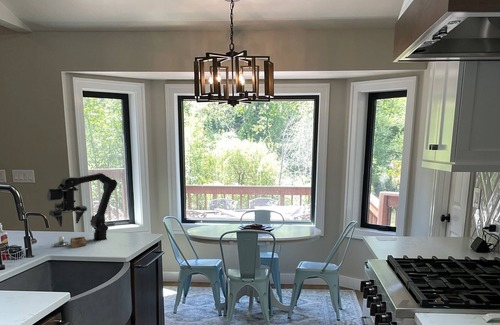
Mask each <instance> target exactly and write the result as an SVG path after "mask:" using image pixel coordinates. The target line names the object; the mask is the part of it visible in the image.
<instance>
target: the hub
mask: <svg viewBox="0 0 500 325" xmlns="http://www.w3.org/2000/svg"><path fill="white" fill-rule="evenodd" d="M64 237H65V236H64V235H62V236H58V242H55V243H54V244H53V247H55V248H62V247H63V248H64V247H67V246H68V245H69V242H67V241H64V239H65V238H64Z"/></svg>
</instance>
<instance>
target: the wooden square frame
mask: <svg viewBox="0 0 500 325" xmlns="http://www.w3.org/2000/svg"><path fill="white" fill-rule="evenodd" d="M69 244H70V247H71V248H72V249H74V248H82V247H86V246H87V239H86V237H85V236H78V237H77V236H75V237H70V243H69Z"/></svg>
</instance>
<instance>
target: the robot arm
mask: <svg viewBox="0 0 500 325" xmlns="http://www.w3.org/2000/svg"><path fill="white" fill-rule="evenodd" d="M95 181H100V183H102V184H103V186H102V189H103V192H102V196H101V199H100V202H99V206H98V209H97V210H96V211H97V212H96V214H94V215H91V219H90V220H89V222H90V226H91V227H92V228H93V230H94V231H93V239H94V241H95V242H99V241H106V240H108V238H107V231H108V230H109V226H108V225H106V217H105V216H106V212H107V209H108V205H109V202H110V199H111V196H112V194H113V192H115V190H116V188H117V186H118V182H117V180H116V179H114V178H113V179H112V178H111V177H109V176H107V175H106V174H104V173H101V172H97V173H94V174H87V175H82V176H68V177H63V178H62V179H61V182H60V184H59V185H58V186H57V187H56V188H48V189H47V190H48V191H47V193H46V200H47V202H54V201H61V202H60V203H59V202H55V203H54V209H50V210H49V212H48V213H49V214H48V215H49V216H51V217H54V218H55V220H56V221H57V223H58V225H59V227H60V228H62V226H63V215H62V214H65V213H72V212H75V224H78V223H79V222H80V221H81V218H82V216H83V214H84V213H86V212H87V211H88V208H87V206H86V205H77V206H75V203H76V200H75V192H76V191H78V190H79V189H78V188H77V186H78V185H81V184H85V183H90V182H95ZM61 199H62V200H61Z"/></svg>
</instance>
